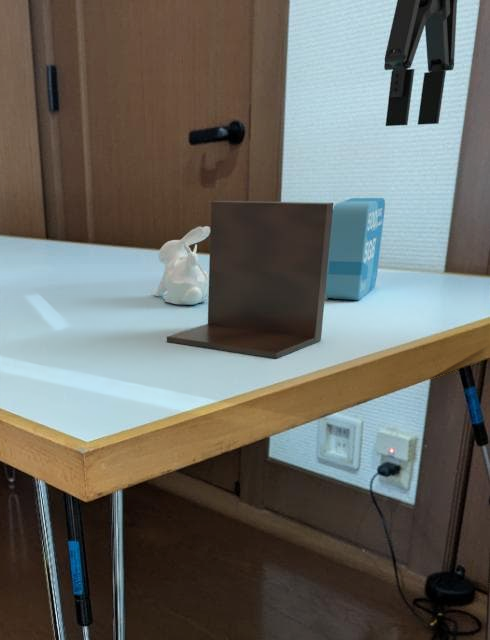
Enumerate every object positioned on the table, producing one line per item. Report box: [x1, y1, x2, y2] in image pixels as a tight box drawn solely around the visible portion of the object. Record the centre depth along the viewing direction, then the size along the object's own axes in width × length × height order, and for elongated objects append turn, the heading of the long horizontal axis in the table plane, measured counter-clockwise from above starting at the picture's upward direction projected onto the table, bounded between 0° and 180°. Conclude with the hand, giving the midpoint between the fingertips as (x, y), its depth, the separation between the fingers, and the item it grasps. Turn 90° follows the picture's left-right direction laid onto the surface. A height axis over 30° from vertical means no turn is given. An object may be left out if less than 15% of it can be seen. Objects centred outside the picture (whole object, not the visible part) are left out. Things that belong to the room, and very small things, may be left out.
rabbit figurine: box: [150, 225, 211, 306], centre depth 110 cm, size 12×8×10 cm, turn 12°
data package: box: [325, 197, 386, 301], centre depth 109 cm, size 12×4×12 cm, turn 151°
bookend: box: [166, 200, 334, 359], centre depth 86 cm, size 14×10×14 cm
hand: (412, 124), depth 111 cm, fingers open, 10 cm apart
